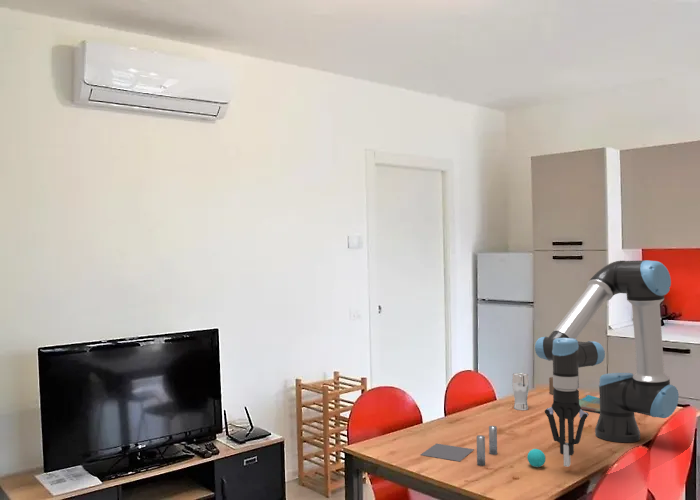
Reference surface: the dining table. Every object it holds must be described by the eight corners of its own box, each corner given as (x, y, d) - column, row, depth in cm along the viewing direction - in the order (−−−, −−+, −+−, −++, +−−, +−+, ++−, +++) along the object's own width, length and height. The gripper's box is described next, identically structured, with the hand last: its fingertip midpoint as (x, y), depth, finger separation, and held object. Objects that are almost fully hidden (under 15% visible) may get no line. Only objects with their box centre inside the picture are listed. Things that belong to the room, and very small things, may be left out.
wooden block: (555, 393, 297) (554, 376, 297) (561, 394, 294) (561, 377, 294) (549, 394, 295) (548, 377, 295) (555, 395, 292) (555, 378, 292)
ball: (547, 465, 196) (547, 448, 196) (543, 470, 191) (543, 453, 191) (530, 462, 198) (529, 445, 198) (525, 467, 194) (525, 450, 194)
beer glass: (520, 411, 263) (520, 376, 263) (509, 408, 269) (508, 373, 270) (532, 409, 266) (532, 374, 267) (521, 406, 273) (520, 372, 273)
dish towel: (624, 405, 274) (624, 399, 274) (602, 415, 257) (602, 409, 257) (587, 399, 286) (586, 394, 286) (563, 408, 269) (563, 403, 269)
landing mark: (474, 449, 212) (474, 449, 212) (459, 461, 200) (459, 461, 200) (436, 444, 219) (436, 443, 219) (420, 455, 207) (420, 454, 207)
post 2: (498, 452, 209) (497, 426, 209) (495, 455, 206) (495, 428, 206) (490, 451, 210) (490, 425, 210) (488, 453, 208) (487, 427, 208)
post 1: (486, 463, 198) (485, 435, 198) (483, 466, 196) (483, 438, 196) (478, 462, 199) (478, 434, 199) (475, 465, 197) (475, 436, 197)
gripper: (590, 388, 190) (591, 464, 190) (547, 384, 197) (548, 458, 196) (585, 393, 184) (587, 472, 183) (541, 388, 190) (542, 465, 190)
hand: (567, 465), depth 190 cm, fingers closed
